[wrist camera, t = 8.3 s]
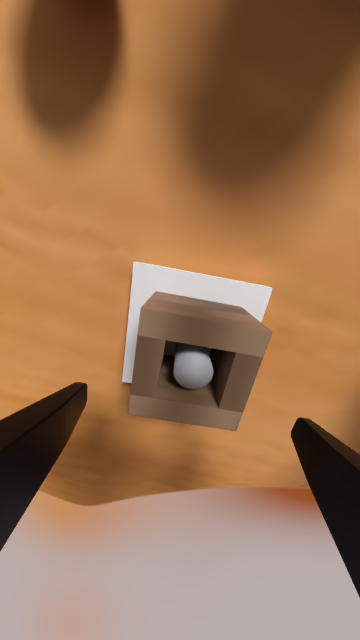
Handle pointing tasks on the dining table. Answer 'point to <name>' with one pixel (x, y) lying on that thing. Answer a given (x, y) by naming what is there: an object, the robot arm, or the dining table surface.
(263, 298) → the post base
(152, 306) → the collar
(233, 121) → the dining table surface
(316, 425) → the robot arm
